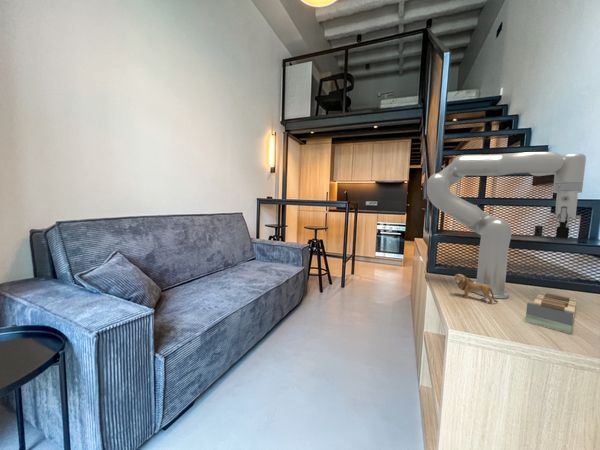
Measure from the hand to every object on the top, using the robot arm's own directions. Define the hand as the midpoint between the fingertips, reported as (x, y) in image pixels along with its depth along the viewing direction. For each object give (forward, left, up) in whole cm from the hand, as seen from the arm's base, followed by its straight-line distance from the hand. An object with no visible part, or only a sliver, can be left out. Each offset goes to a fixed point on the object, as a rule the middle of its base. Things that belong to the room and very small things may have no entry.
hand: (561, 237), depth 96 cm
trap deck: (-8, -12, -25) cm, 29 cm away
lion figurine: (-30, -6, -25) cm, 39 cm away
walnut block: (-14, -23, -23) cm, 35 cm away
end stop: (-16, -25, -23) cm, 38 cm away
